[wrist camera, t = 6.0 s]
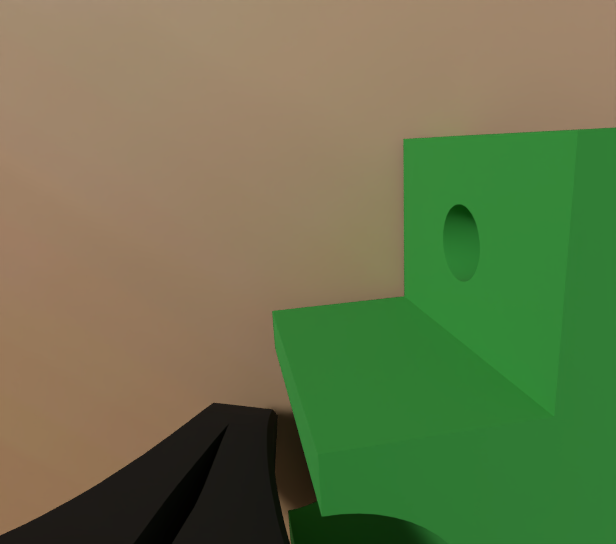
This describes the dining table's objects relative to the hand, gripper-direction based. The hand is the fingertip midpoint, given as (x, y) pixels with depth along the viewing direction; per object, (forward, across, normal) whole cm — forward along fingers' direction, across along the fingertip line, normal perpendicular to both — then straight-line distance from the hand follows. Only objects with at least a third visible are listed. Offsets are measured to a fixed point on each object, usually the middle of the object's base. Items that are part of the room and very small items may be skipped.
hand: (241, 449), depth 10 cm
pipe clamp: (+1, -3, -1) cm, 3 cm away
